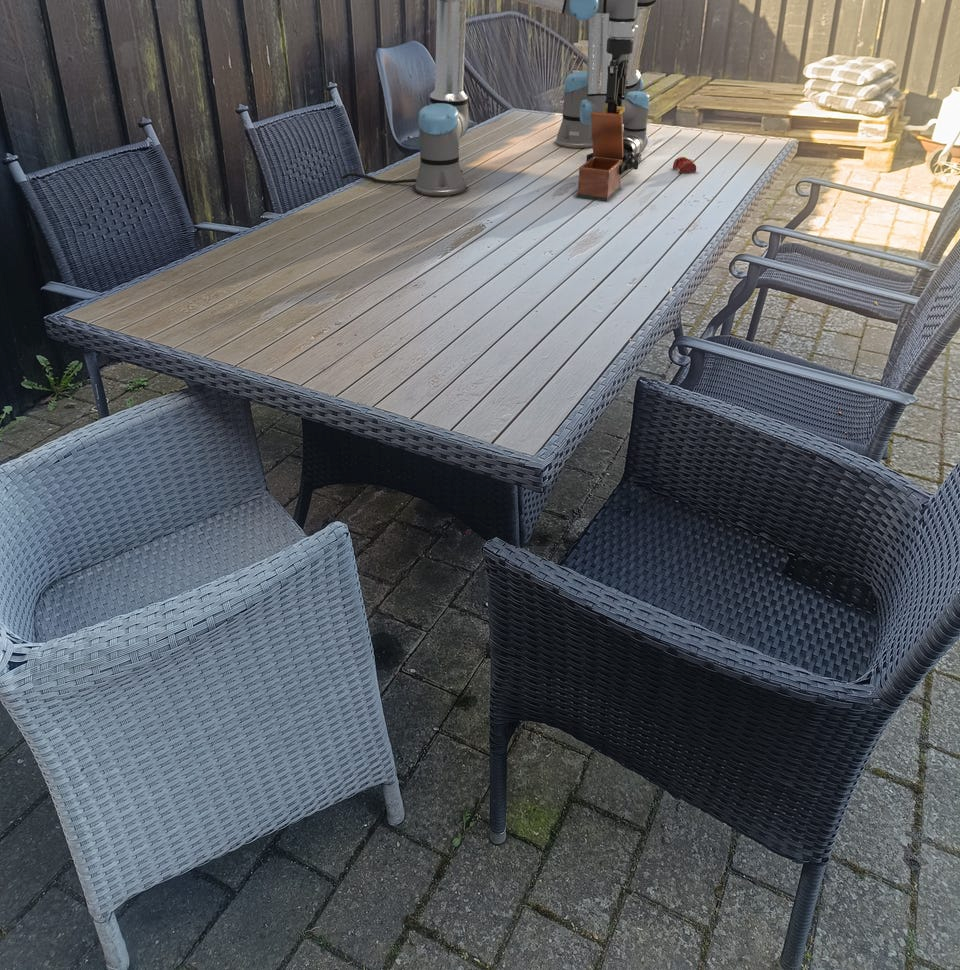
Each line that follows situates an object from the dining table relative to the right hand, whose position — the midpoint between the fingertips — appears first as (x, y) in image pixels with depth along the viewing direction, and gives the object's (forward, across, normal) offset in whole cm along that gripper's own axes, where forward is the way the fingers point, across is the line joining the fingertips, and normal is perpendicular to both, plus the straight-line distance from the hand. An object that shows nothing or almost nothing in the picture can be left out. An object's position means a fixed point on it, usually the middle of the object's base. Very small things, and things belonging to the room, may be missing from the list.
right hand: (604, 168), depth 255 cm
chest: (+4, 0, -6) cm, 7 cm away
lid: (0, 0, +9) cm, 9 cm away
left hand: (-5, 0, +11) cm, 13 cm away
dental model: (-30, -18, -6) cm, 36 cm away
